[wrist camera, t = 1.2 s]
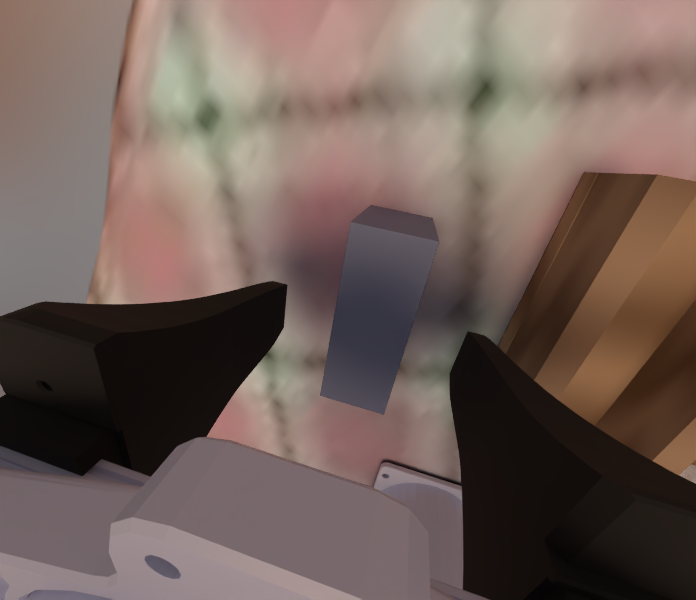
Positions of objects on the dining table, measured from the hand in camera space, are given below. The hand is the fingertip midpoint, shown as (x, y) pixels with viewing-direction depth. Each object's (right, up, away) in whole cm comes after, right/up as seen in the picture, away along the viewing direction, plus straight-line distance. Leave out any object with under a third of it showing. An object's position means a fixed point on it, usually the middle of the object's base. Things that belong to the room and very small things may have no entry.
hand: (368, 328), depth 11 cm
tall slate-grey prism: (+1, +2, +4) cm, 5 cm away
